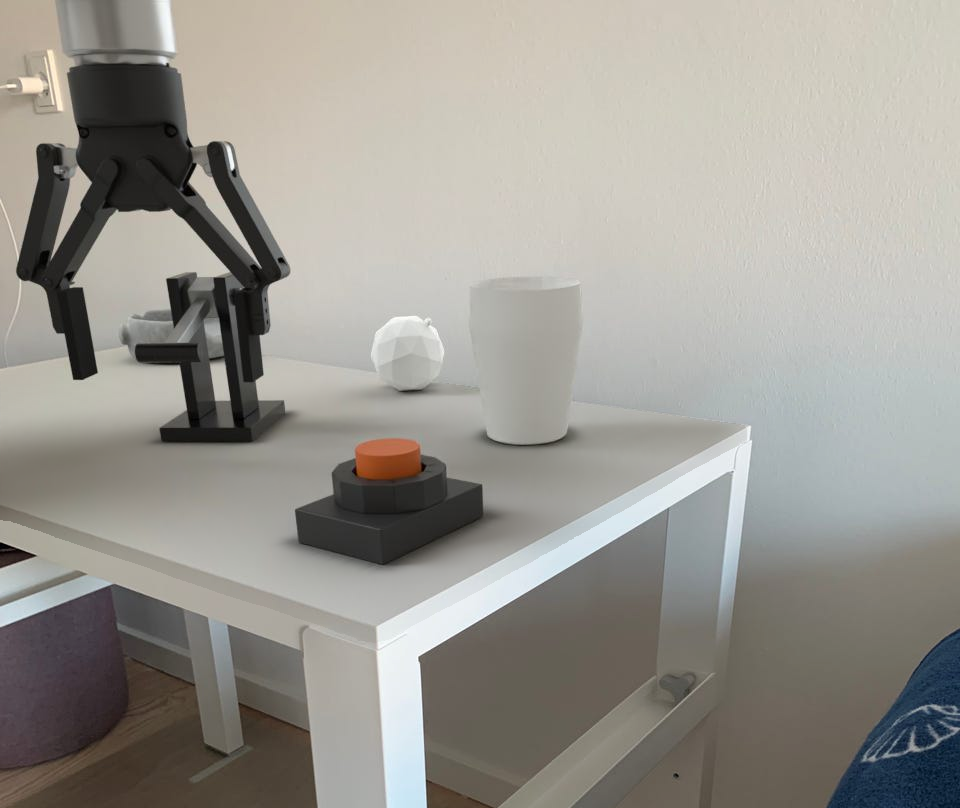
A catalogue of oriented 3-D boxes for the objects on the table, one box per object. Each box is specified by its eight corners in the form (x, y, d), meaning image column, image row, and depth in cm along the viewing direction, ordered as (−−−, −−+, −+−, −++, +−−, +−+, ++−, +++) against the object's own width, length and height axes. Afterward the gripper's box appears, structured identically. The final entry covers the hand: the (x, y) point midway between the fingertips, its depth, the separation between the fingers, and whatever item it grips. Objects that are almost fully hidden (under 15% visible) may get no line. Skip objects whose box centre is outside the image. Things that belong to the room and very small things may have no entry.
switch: (202, 371, 77) (194, 341, 75) (139, 371, 78) (130, 342, 76) (244, 303, 86) (237, 275, 84) (188, 304, 86) (180, 277, 85)
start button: (392, 487, 60) (390, 459, 59) (343, 477, 62) (341, 449, 61) (434, 471, 63) (433, 443, 62) (386, 461, 65) (384, 435, 64)
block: (383, 565, 58) (378, 499, 57) (298, 542, 62) (290, 480, 60) (483, 516, 65) (482, 456, 64) (402, 498, 69) (398, 442, 67)
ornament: (415, 376, 106) (455, 315, 101) (423, 416, 101) (466, 354, 96) (356, 348, 102) (394, 283, 98) (361, 388, 97) (402, 322, 93)
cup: (456, 445, 81) (450, 290, 76) (493, 418, 89) (490, 275, 83) (564, 453, 78) (565, 292, 73) (593, 424, 86) (596, 276, 80)
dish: (265, 345, 127) (260, 303, 124) (215, 366, 115) (209, 321, 112) (162, 343, 130) (155, 303, 128) (102, 364, 118) (94, 320, 115)
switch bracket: (252, 441, 84) (231, 281, 79) (161, 441, 85) (133, 283, 79) (285, 413, 93) (268, 267, 87) (202, 413, 94) (180, 268, 88)
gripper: (315, 64, 71) (337, 369, 80) (-19, 70, 73) (41, 366, 83) (285, 55, 64) (313, 390, 73) (-81, 63, 67) (-9, 385, 76)
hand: (169, 378), depth 78 cm, fingers open, 13 cm apart
